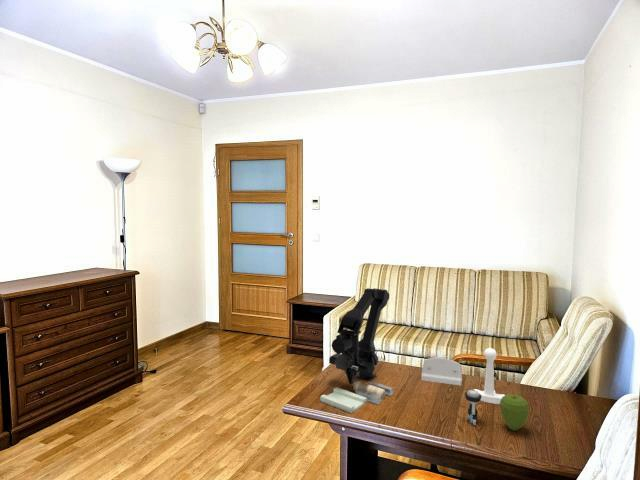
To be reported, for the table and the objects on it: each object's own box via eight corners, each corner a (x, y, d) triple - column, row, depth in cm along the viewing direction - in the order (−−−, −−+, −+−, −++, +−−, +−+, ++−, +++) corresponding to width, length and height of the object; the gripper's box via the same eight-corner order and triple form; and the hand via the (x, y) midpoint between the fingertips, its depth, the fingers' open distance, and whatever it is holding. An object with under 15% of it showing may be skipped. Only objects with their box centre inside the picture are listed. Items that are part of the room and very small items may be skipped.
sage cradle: (336, 392, 162) (336, 387, 162) (366, 402, 153) (366, 397, 153) (320, 401, 154) (320, 396, 154) (351, 413, 145) (351, 407, 145)
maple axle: (354, 393, 163) (352, 384, 161) (359, 386, 165) (358, 378, 164) (380, 402, 155) (379, 393, 154) (385, 395, 158) (384, 387, 157)
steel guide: (370, 387, 166) (371, 381, 166) (392, 394, 160) (392, 388, 160) (355, 396, 158) (355, 390, 158) (378, 404, 152) (378, 398, 151)
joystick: (472, 399, 156) (474, 347, 154) (475, 391, 163) (476, 341, 161) (504, 405, 151) (506, 352, 149) (505, 397, 158) (507, 346, 156)
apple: (533, 430, 134) (535, 396, 133) (518, 438, 130) (520, 403, 129) (508, 419, 141) (510, 386, 141) (493, 426, 137) (495, 392, 136)
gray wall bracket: (420, 379, 173) (421, 355, 176) (421, 379, 178) (422, 355, 180) (462, 385, 168) (463, 360, 170) (462, 385, 172) (463, 360, 175)
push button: (482, 427, 136) (483, 398, 135) (466, 425, 137) (466, 396, 136) (479, 417, 143) (480, 389, 142) (462, 415, 144) (463, 388, 143)
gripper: (320, 346, 164) (320, 384, 166) (359, 357, 152) (358, 398, 154) (337, 339, 173) (337, 375, 174) (375, 349, 161) (375, 388, 162)
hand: (351, 384), depth 166 cm, fingers closed
